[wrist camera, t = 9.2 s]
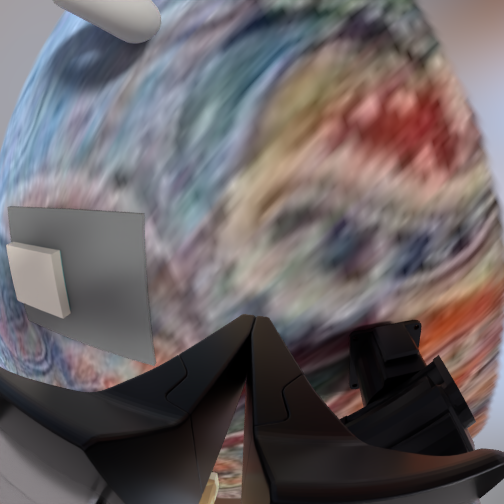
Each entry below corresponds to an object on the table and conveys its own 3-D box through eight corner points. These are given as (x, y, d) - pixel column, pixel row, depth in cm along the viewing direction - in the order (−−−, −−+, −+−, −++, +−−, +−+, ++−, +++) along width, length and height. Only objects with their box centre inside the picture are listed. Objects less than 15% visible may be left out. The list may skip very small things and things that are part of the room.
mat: (144, 213, 21) (141, 214, 21) (155, 363, 26) (154, 365, 25) (10, 206, 23) (7, 207, 23) (30, 319, 28) (28, 320, 27)
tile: (51, 254, 22) (6, 244, 22) (63, 318, 24) (17, 300, 25) (61, 249, 23) (15, 240, 24) (72, 311, 25) (25, 295, 26)
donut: (189, 31, 16) (126, -33, 7) (160, 63, 17) (81, 17, 8) (119, -1, 15) (55, -43, 6) (96, 26, 16) (24, -6, 7)
